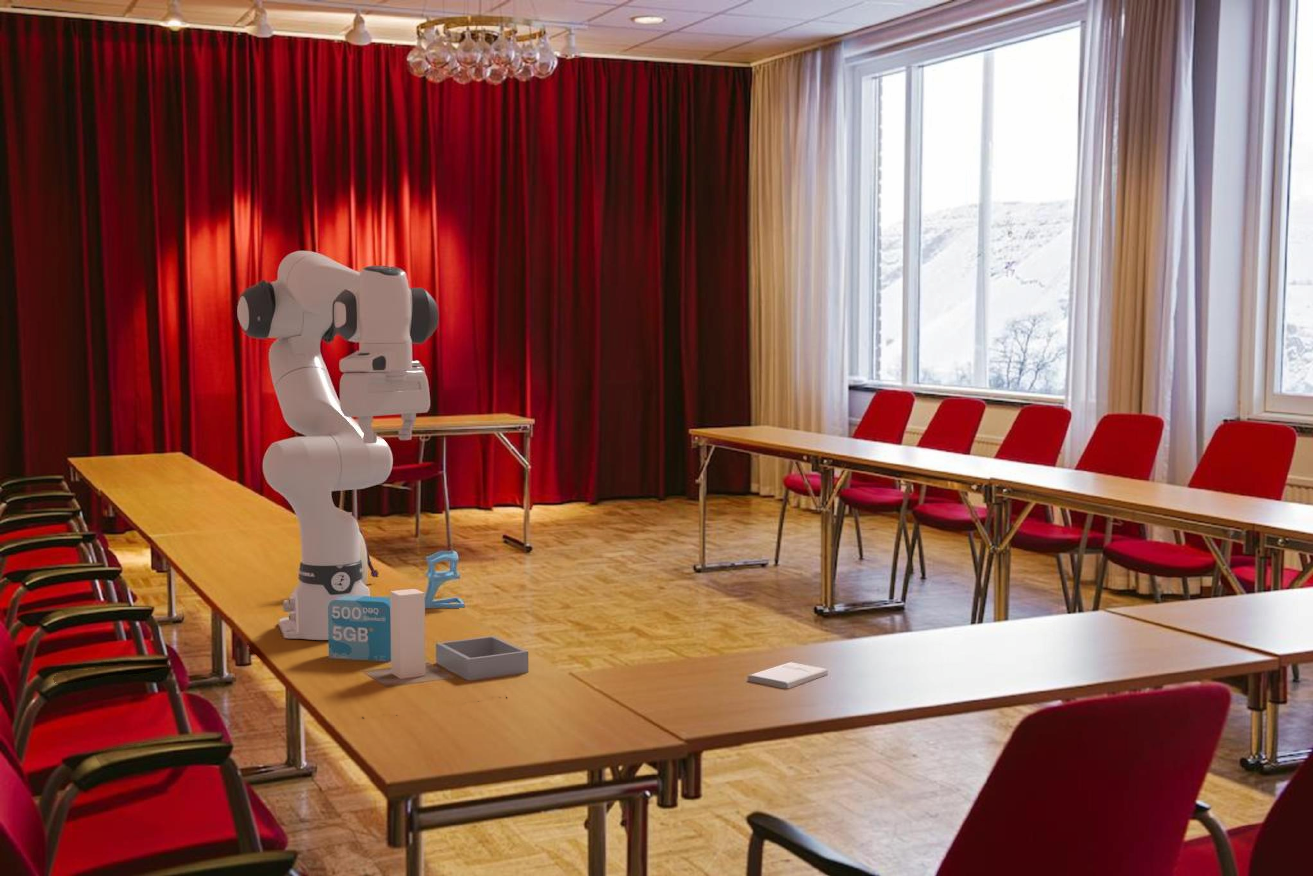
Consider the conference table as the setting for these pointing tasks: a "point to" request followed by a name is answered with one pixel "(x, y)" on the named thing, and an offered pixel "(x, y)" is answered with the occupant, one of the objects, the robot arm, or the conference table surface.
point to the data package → (360, 628)
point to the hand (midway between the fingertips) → (388, 441)
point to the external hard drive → (788, 675)
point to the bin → (481, 658)
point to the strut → (407, 633)
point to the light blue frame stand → (441, 580)
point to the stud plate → (391, 680)
